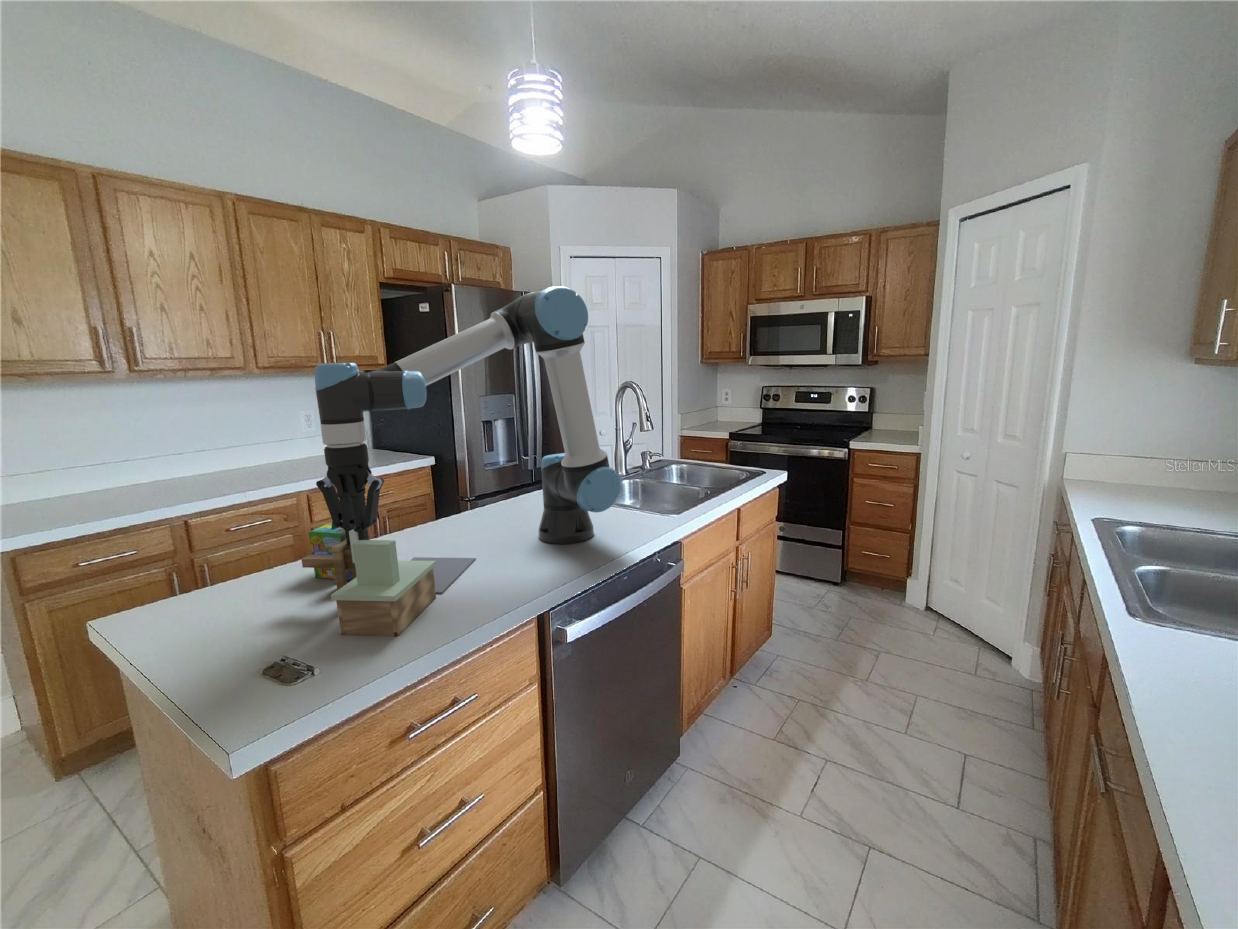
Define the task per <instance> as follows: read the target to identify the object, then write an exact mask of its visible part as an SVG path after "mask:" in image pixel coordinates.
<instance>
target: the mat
mask: <svg viewBox="0 0 1238 929" xmlns="http://www.w3.org/2000/svg"><path fill="white" fill-rule="evenodd" d="M476 560H477V557H427V556H426V557H425V556H424V557H413V558H411V559H410V560H409V561H436V566H435V567H434V568H433V572H434V582H435V592H436V595H443V594H444V593H445V592H446V591H447V590H448V589H449V588H450V586H452V585H453V583H455V582H456V581H457V580H458V579H459V577H460V576H461V575H463V573H464V572H466V571H467V569H468V568H469V567H470V566H471V565H472V564H473V563H475V561H476Z"/></svg>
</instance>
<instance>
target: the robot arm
mask: <svg viewBox="0 0 1238 929" xmlns="http://www.w3.org/2000/svg"><path fill="white" fill-rule="evenodd" d="M588 322H589V311H588V307H587V305H586V303H585V301H584V298H582V297H581V295H580V294H579V293H577V292H576V291H574V290H573V289H571V288H569V287H566V286H549V287H546V288H543V289H540V290H536V291H533V292H532V291H531V292H529V293H525V294H523V295H521V296H519V297H518V298H516V299H514V300H513V301H511V302H510V303H508V304H507V305H505V306H503V307H501V308H499V309H497V310H495V311H493V312H491V313H490V317H489V318H488V319H486V320H483V321H481V322H479V323H478V324H475V325H473V326H471V327H468V328H465V329H464V330H462V331H460V332H458V333H455V334H453V335H451V336H449V337H447V338H445V339H444V338H443V340H440V341H438V342H435V343H433V344H432V345H431V344H430V345H429V346H427V347H424V348H423V349H421V350H419V351H416V352H413V353H412V354H408V355H407V356H406V357H404V358H401V359H399V360H397V361H394V362H392V363H390V364H388V365H386V366H384V367H382V368H380V369H377V370H376V369H374V370H371V371H369V372H361V371H360V370H359V367H358V365H357V364H356V363H355V362H339V363H338V362H336V363H335V362H334V363H331V362H330V363H319V364H317V365H316V366H315V367H314V370H313V371H314V384H315V388H314V389H315V394H316V400H317V408H318V415H319V421H320V430H321V437H322V438H321V439H322V444H323V445H325V447H324V449H323V453H324V461H325V465H326V466H327V471H326V476H325V477H323V478H322V479H320V480H317V481H316V482H315V485H316V487H317V488H318V489H319V491H320V492H321V493H322V496H323V498H324V501H325V504H326V506H327V510H328V512H329V515H330V518H331V520H333V523H334V526H335V527H337V528H338V527H340V528H343V529H344V530H345V533H346V541H347V544H348V546H351V552H352V560H353V563H355V560H354V552H353V545H352V544H354V543H356V542H357V541H359V540H370V538H369V539H368V536H369V530H368V531H367V528H370V527H372V526H373V525H376V524H377V518H378V513H379V512H378V511H379V510H378V509H379V502H380V493H381V488H382V486H383V485H384V483H385V479H384V478H382V477H379V478H378V477H376V476H375V475H374V474H372V473H373V472H372V470H371V469H370V466H369V457H370V456H369V451H368V445H367V443H365V442H366V440H367V437H366V436H367V435H366V426H365V416H364V413H365V412H373V411H374V412H375V411H391V410H392V411H393V410H395V411H396V410H406V409H407V410H411V409H417V408H422V407H424V406H425V404H426V402H427V396H428V395H427V394H428V393H427V392H428V391H427V386H429V385H431V384H433V383H435V382H438V381H439V380H442V379H443V378H445V377H447V376H450V375H452V374H455V373H456V372H458V371H460V370H462V369H464V368H466V367H468V366H470V365H472V364H475V363H476V362H479V361H481V360H482V359H485V358H487V357H489V356H491V355H493V354H495V353H497V352H499V351H502V350H503V349H507V350H513V349H515V348H517V347H519V346H522V345H526V344H530V343H533V345H534V350H535V353H536V355H539V356H540V357H541V358H542V359H543V360H544V361H543V362H544V364H545V369H546V373H547V378H548V383H549V388H550V392H551V395H552V400H553V401H552V402H553V404H554V405H553V406H554V409H555V413H556V418H557V423H558V427H559V428H558V429H559V431H560V437H561V442H562V445H563V450H564V452H562V453H561V452H560V453H555V454H548V455H544V456H543V457H542V458H541V464H540V465H541V466H540V467H541V468H540V472H541V484H542V485H541V488H542V500H543V501H542V502H543V512H542V515H541V519H540V523H539V527H538V538H539V540H541V541H542V542H544V543H548V544H556V545H565V544H566V545H567V544H576V543H579V542H580V543H581V542H583V541H587V540H589V539H591V538H592V537H593V536H594V523H593V522H592V519H591V516H590V513H589V512H591V513H603V512H605V511H607V510H608V509H610V508H611V507H612V506H613V505H614V504H615V503H616V502H617V498H619V497H620V496H619V495H620V493H621V489H622V481H621V478H620V475H619V473H618V472H617V471H616V470H615V469H614V468H612V467H610V462H609V457H608V453H607V452H606V451H605V450H604V449H602V448H600V443H599V440H598V435H597V430H596V424H595V419H594V415H593V410H592V405H591V399H590V395H589V390H588V389H589V388H588V385H587V380H586V374H585V370H584V366H583V360H582V357H581V356H582V355H581V351H582V348H583V347H584V345H585V338H584V332H585V331H586V328H587V326H588ZM366 485H367V487H368V490H367V494H366ZM365 494H366V497H365ZM355 527H356V528H355Z"/></svg>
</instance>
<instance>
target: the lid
mask: <svg viewBox="0 0 1238 929" xmlns="http://www.w3.org/2000/svg"><path fill="white" fill-rule="evenodd" d="M352 545H353V552H354V560H355V568H356V576H357V577H356V578H355V579H353V580H352V581H350V582H349V583H347V584H346V585H345V586H343V587H342V588H340V589H339V590H337V589H336V591H334V592H333V593H332V594H331V595H330V597H331V601H336V600H351V601H396V600H397V599H399V598H400V597H401V596H402V595H403V594H404V593H405V592H407V591H408V590H409V589H410V588H411V587H412V586H413V585H415V584H416V583H417V582H418V581H419V580H420V579H421V578H422V577H424V576H425V575H426V574H427V573H428V572H429V571H430V570H432V569H433V568H434V567H435V566H436V561H410V560H409V559H407V560H399V559H398V551H397V542H396V540H394V539H390V540H389V539H379V540H378V539H371V540H370V539H369V540H359V541H357V542H356V543H354V544H352Z"/></svg>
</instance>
